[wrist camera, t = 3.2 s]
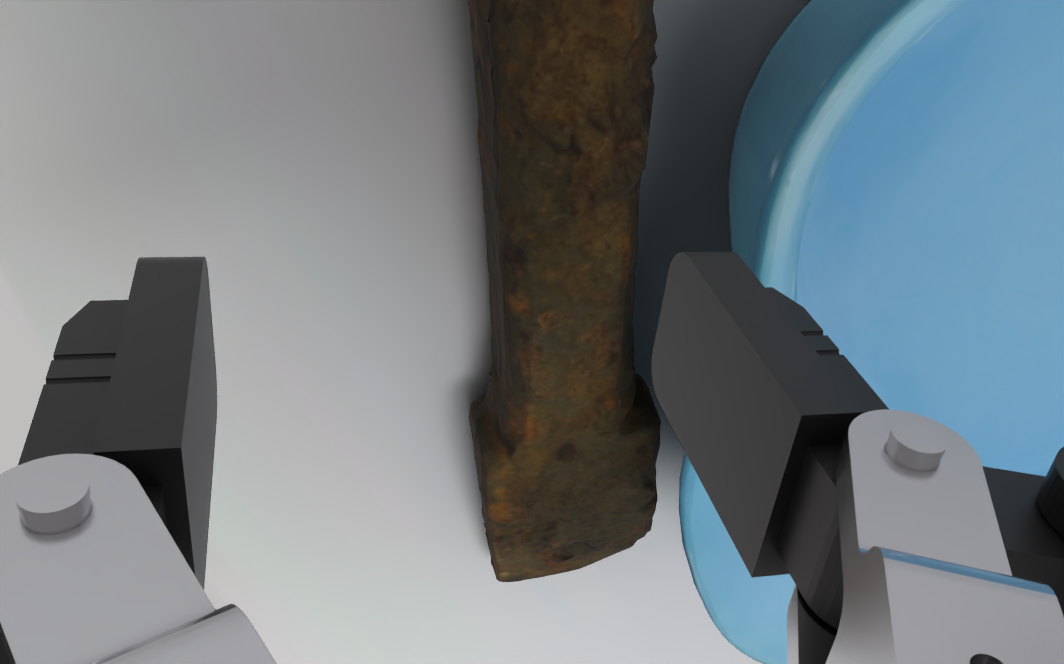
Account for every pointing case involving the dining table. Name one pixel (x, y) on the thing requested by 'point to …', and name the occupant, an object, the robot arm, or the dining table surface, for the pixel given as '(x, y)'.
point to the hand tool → (563, 281)
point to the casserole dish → (905, 235)
